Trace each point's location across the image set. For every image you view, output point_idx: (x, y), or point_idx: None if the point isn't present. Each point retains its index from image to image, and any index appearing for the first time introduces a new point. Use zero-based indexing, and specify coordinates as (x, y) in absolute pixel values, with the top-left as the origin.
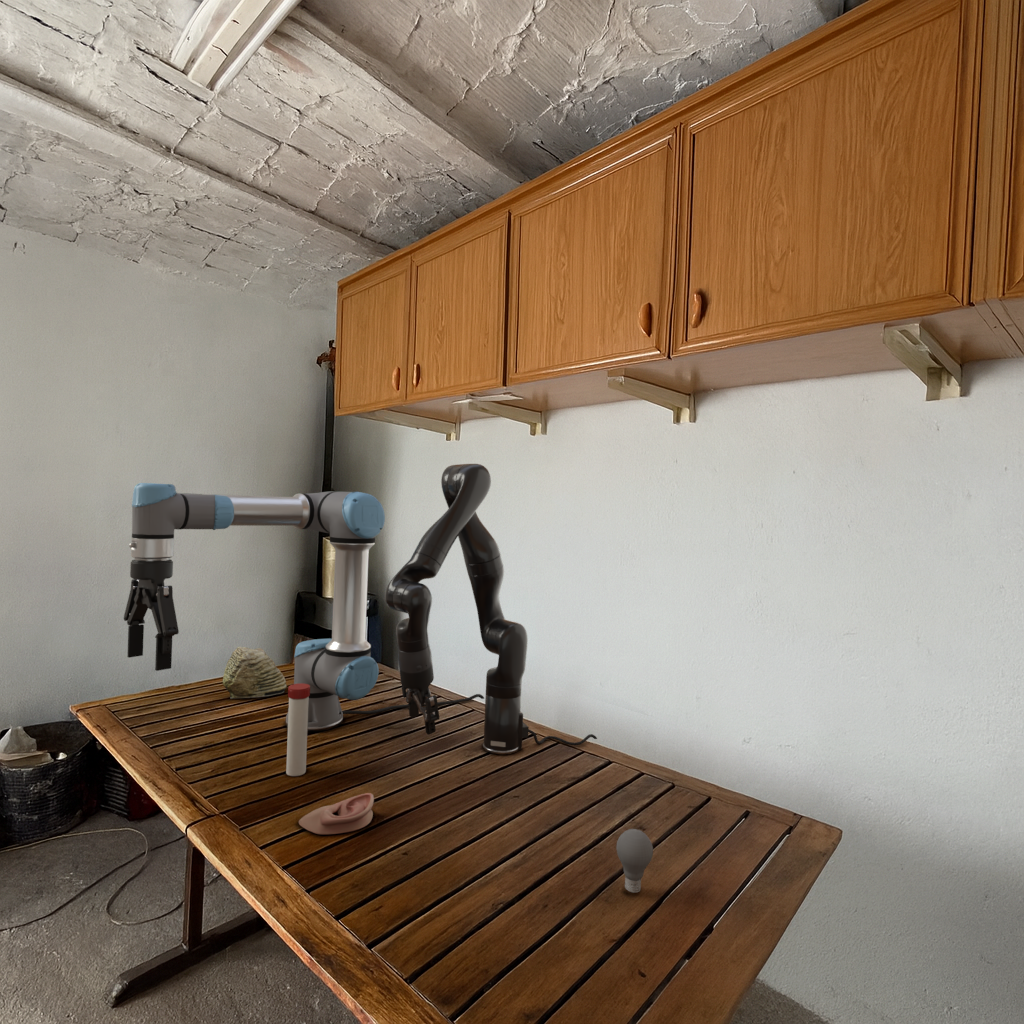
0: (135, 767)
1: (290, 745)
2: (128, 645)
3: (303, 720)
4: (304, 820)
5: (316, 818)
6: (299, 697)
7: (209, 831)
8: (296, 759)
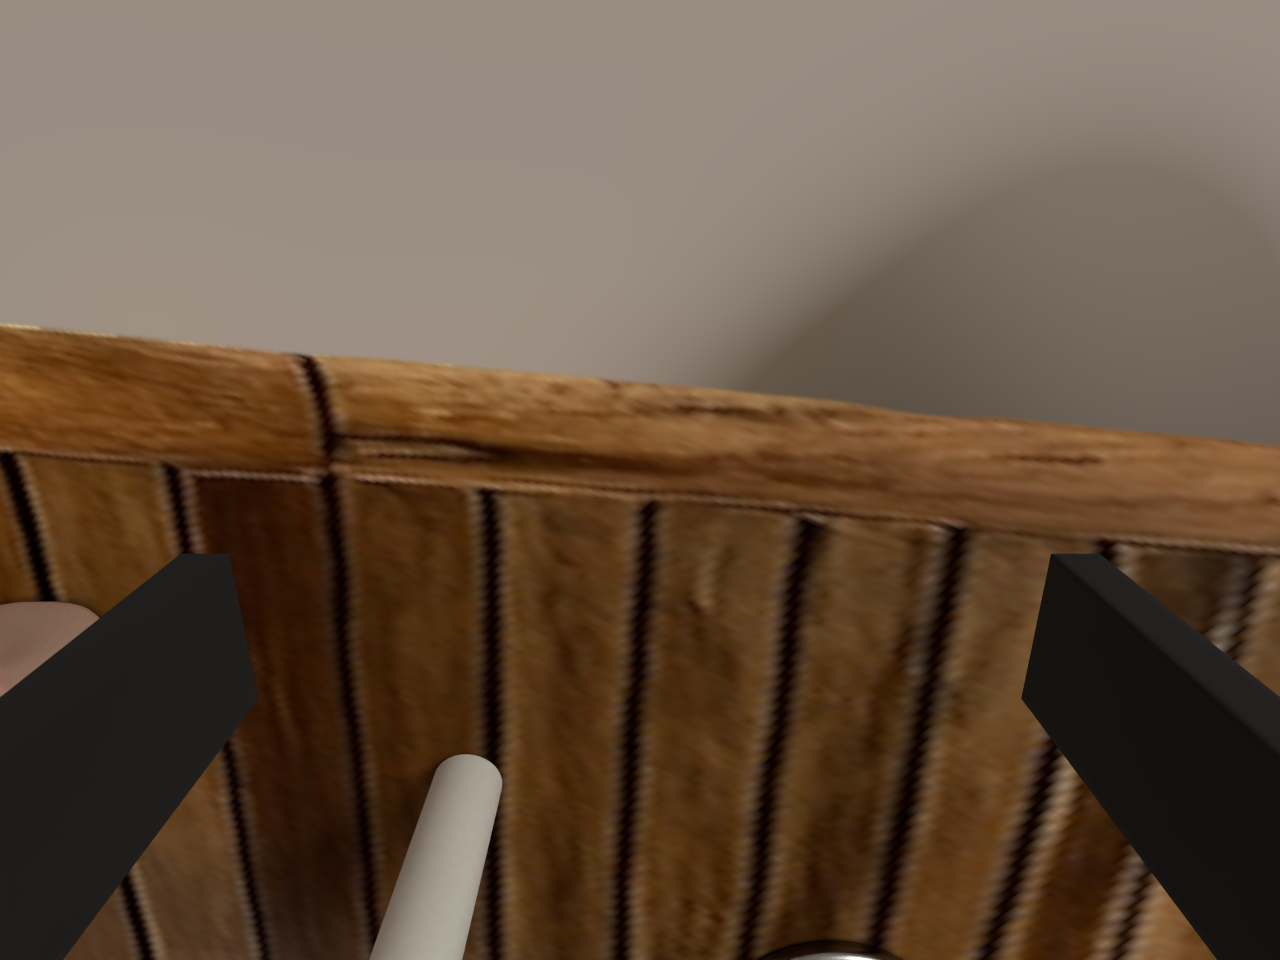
0: (961, 421)
1: (428, 842)
2: (1179, 639)
3: None
4: (56, 621)
5: (17, 646)
6: None
7: (218, 389)
8: (422, 811)
